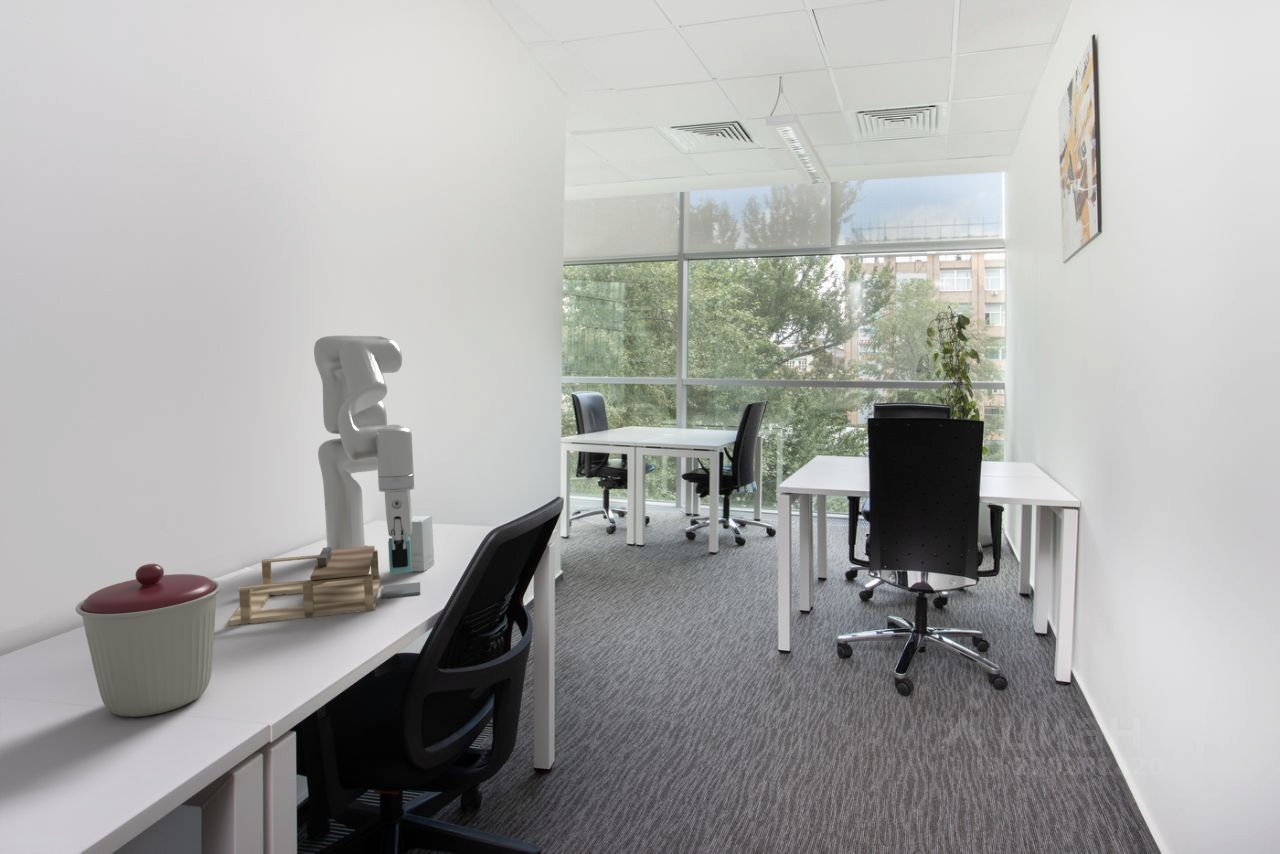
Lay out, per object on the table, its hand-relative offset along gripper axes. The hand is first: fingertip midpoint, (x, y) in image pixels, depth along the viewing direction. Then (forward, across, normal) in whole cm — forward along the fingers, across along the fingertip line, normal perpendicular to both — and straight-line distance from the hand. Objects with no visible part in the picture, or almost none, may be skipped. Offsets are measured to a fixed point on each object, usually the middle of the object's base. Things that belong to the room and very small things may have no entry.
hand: (400, 563), depth 166 cm
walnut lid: (-1, 0, +11) cm, 12 cm away
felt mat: (+6, 0, 0) cm, 6 cm away
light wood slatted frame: (+6, 0, +19) cm, 20 cm away
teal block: (+2, 0, 0) cm, 2 cm away
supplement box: (+7, +20, -3) cm, 21 cm away
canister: (+7, -47, +34) cm, 58 cm away
